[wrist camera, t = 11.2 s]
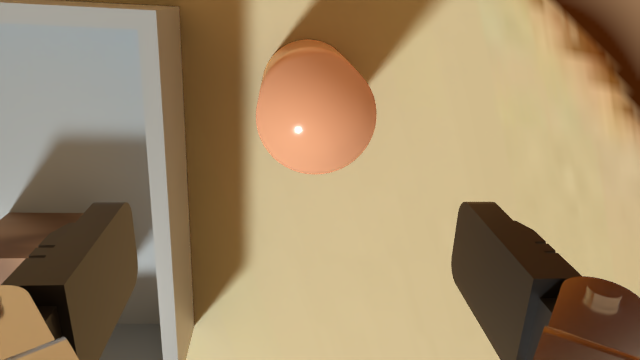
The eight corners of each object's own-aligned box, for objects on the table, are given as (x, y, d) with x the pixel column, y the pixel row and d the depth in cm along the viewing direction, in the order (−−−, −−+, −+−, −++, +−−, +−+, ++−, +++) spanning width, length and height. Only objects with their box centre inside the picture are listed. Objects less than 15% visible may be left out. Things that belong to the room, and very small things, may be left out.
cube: (102, 213, 28) (66, 258, 23) (111, 288, 29) (79, 344, 25) (8, 212, 27) (-47, 258, 23) (24, 289, 29) (-25, 346, 24)
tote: (179, 6, 25) (155, 10, 20) (194, 325, 32) (179, 383, 27) (-132, -10, 23) (-234, -10, 19) (-45, 326, 31) (-103, 387, 26)
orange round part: (356, 41, 26) (382, 59, 20) (349, 132, 28) (370, 175, 21) (262, 37, 26) (256, 53, 19) (261, 129, 27) (255, 172, 21)
